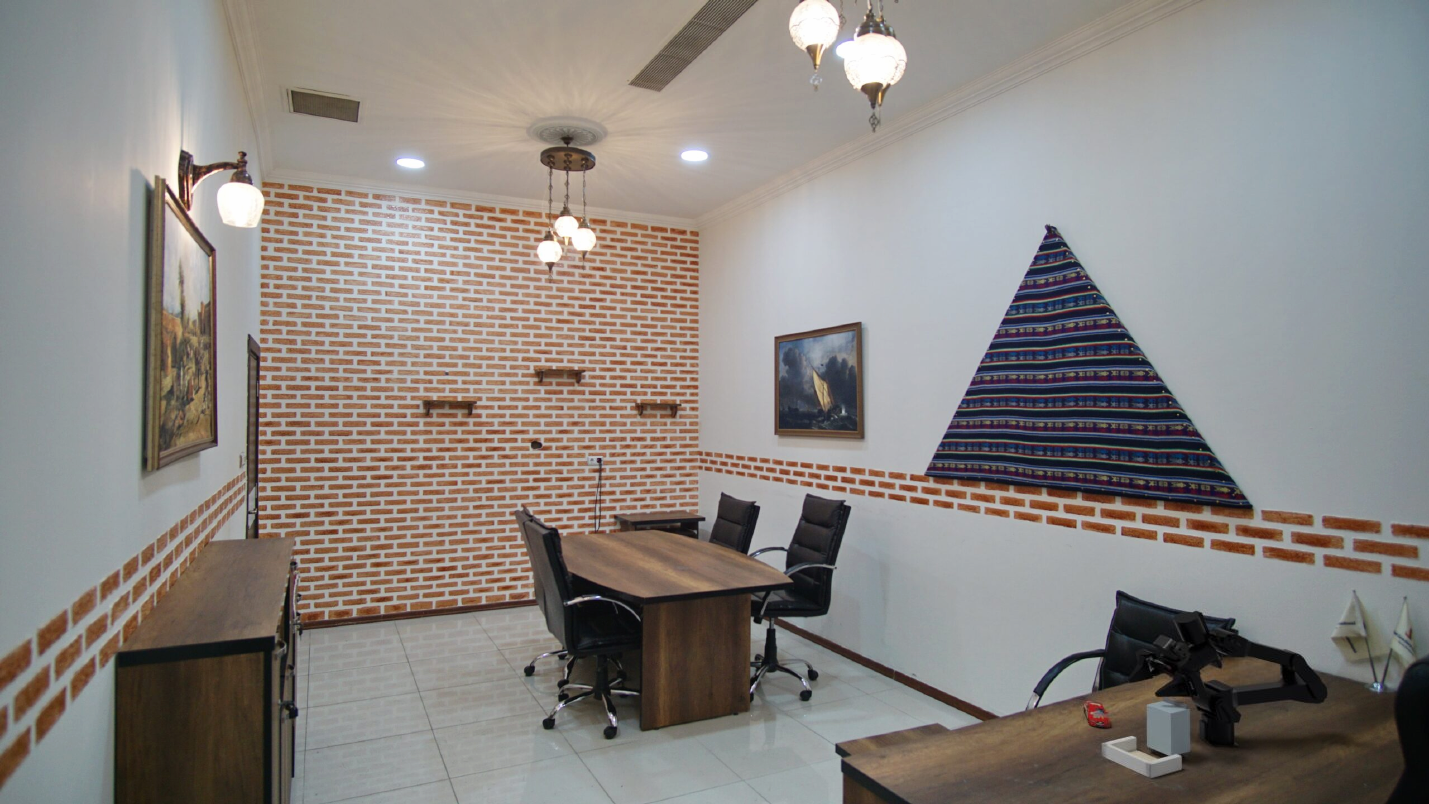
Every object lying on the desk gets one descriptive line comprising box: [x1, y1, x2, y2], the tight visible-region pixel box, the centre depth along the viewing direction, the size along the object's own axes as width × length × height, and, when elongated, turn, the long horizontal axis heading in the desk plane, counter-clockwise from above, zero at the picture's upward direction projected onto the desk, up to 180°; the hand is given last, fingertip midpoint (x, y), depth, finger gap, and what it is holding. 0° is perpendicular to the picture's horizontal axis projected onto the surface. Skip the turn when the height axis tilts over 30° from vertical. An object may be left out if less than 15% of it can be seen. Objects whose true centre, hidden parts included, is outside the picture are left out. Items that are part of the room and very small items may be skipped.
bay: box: [1101, 735, 1183, 779], centre depth 177 cm, size 11×12×3 cm
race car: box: [1083, 700, 1111, 728], centre depth 203 cm, size 13×5×4 cm, turn 160°
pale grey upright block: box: [1146, 697, 1191, 758], centre depth 182 cm, size 7×6×12 cm
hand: (1141, 687), depth 187 cm, fingers open, 9 cm apart
